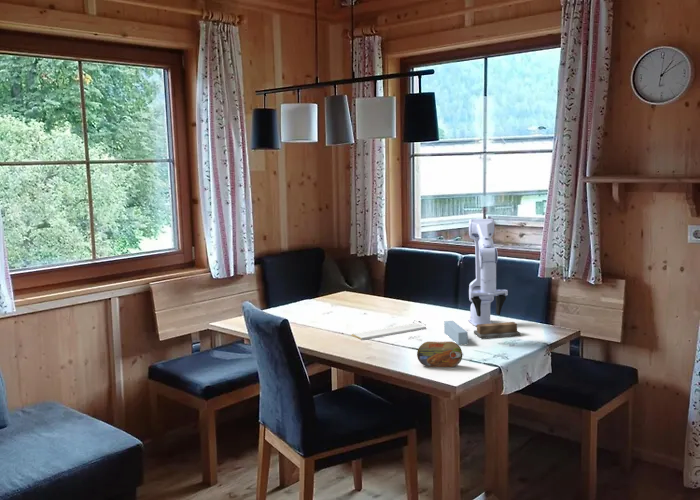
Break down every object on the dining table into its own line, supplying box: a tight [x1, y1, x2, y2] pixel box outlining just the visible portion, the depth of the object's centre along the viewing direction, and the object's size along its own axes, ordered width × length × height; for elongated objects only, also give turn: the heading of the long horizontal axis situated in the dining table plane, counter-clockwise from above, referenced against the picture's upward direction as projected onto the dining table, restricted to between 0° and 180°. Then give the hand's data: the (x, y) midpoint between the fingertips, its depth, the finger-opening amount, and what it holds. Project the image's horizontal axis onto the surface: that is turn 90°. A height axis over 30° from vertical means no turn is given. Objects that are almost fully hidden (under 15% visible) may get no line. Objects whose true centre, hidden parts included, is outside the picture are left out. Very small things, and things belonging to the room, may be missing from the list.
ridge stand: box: [473, 321, 522, 339], centre depth 263 cm, size 16×8×4 cm, turn 98°
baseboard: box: [350, 320, 427, 341], centre depth 274 cm, size 30×3×10 cm
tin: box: [416, 341, 463, 368], centre depth 227 cm, size 15×3×8 cm, turn 80°
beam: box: [443, 320, 469, 346], centre depth 260 cm, size 18×4×5 cm, turn 9°
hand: (488, 315), depth 255 cm, fingers open, 7 cm apart
